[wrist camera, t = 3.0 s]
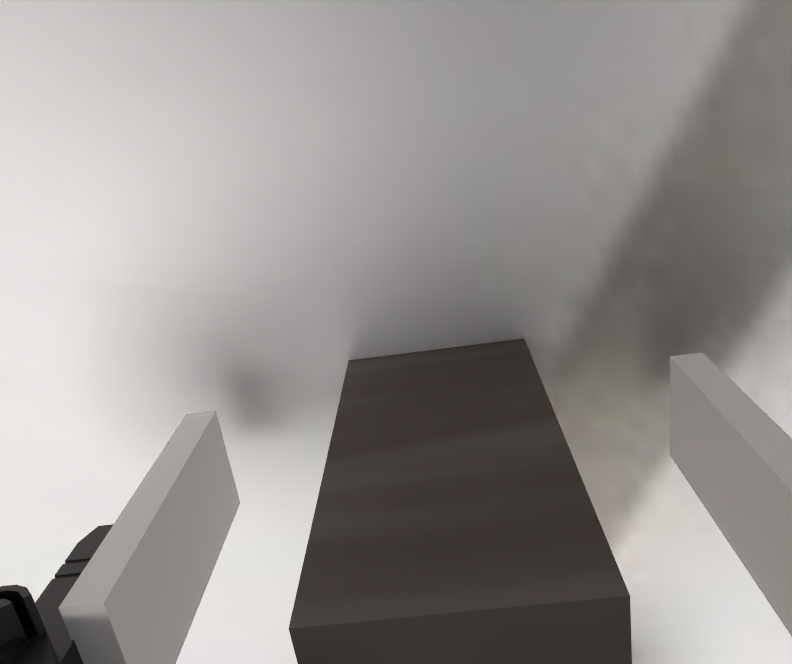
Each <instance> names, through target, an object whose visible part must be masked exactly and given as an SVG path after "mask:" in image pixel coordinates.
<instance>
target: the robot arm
mask: <svg viewBox="0 0 792 664" xmlns="http://www.w3.org/2000/svg"><path fill="white" fill-rule="evenodd" d="M670 456H671V457H672V459H673V460H674V462H675V463H676V465H677V466H678V468H679V469H680V471H681V472H682V473H683V475H684V476H685V478H686V479H687V481H688V482H689V484H690V485H691V487H692V488H693V490H694V491H695V493H696V494H697V496H698V497H699V499H700V500H701V502H702V503H703V505H704V506H705V508H706V509H707V511H708V512H709V514H710V515H711V517H712V518H713V520H714V521H715V523H716V524H717V526H718V527H719V529H720V530H721V532H722V533H723V535H724V536H725V538H726V539H727V541H728V542H729V544H730V545H731V547H732V548H733V550H734V551H735V553H736V554H737V555H738V557H739V558H740V560H741V561H742V563H743V564H744V566H745V567H746V569H747V570H748V572H749V573H750V575H751V576H752V578H753V579H754V581H755V582H756V584H757V585H758V587H759V588H760V590H761V591H762V593H763V594H764V596H765V597H766V599H767V600H768V602H769V603H770V605H771V606H772V608H773V609H774V611H775V612H776V614H777V615H778V617H779V618H780V620H781V621H782V623H783V624H784V626H785V627H786V629H787V630H788V632H789V633H790V635H791V636H792V439H791V438H790V437H789V436H788V435H787V434H786V433H785V432H784V431H783V430H782V429H781V428H780V427H779V426H778V425H777V424H776V423H775V422H774V421H773V420H772V419H771V418H770V417H769V416H768V415H767V414H766V413H765V412H764V411H763V410H762V409H760V408H759V407H758V406H757V405H756V404H755V403H754V402H753V401H752V400H751V399H750V398H749V397H748V396H747V395H746V394H745V393H744V392H743V391H742V390H741V389H740V388H739V387H738V386H737V385H736V384H735V383H734V382H733V381H732V380H731V379H730V378H728V377H727V376H726V375H725V374H724V373H723V372H722V371H721V370H720V369H719V368H718V367H717V366H716V365H715V364H714V363H713V362H712V361H711V360H710V359H709V358H708V357H707V356H706V355H705V354H704V353H703V352H701V353H693V354H685V355H676V356H670ZM239 504H240V500H239V497H238V493H237V489H236V486H235V482H234V478H233V474H232V471H231V467H230V463H229V459H228V456H227V452H226V448H225V445H224V441H223V437H222V433H221V430H220V426H219V422H218V418H217V415H216V411H214V412H206V413H197V414H189V415H186V416H185V417H184V419H183V421H182V422H181V424H180V425H179V427H178V428H177V430H176V431H175V433H174V434H173V436H172V437H171V439H170V440H169V442H168V443H167V445H166V446H165V448H164V449H163V451H162V452H161V454H160V455H159V457H158V458H157V460H156V461H155V463H154V464H153V466H152V467H151V469H150V470H149V472H148V473H147V475H146V476H145V478H144V479H143V481H142V482H141V484H140V485H139V487H138V488H137V490H136V491H135V493H134V495H133V496H132V498H131V499H130V501H129V502H128V504H127V505H126V507H125V508H124V510H123V511H122V513H121V514H120V516H119V517H118V519H117V520H116V522H115V523H114V524H113V525H104V526H98V527H97V528H96V529H94V530H93V531H92V532H91V533H89V534H88V535H87V536H86V537H85V538H83V539H82V540H81V541H80V542H78V544H77V545H76V546H75V548H74V549H73V551H72V552H71V553H70V555H69V556H68V558H67V559H66V560H65V564H63V565H62V566H61V567H60V569H59V570H58V572H57V573H56V574H55V579H52V580H51V582H50V583H49V584H48V586H47V587H46V589H45V590H44V591H43V593H42V594H41V596H40V597H39V598H38V600H37V601H36V603H35V602H34V600H33V598H32V595H31V593H30V592H29V591H28V589H27V588H26V587H23V586H19V585H10V586H1V587H0V664H175V663H176V661H177V658H178V656H179V653H180V651H181V648H182V646H183V643H184V641H185V638H186V636H187V633H188V631H189V628H190V626H191V623H192V621H193V619H194V616H195V614H196V611H197V609H198V606H199V604H200V601H201V599H202V596H203V594H204V591H205V589H206V586H207V584H208V581H209V579H210V576H211V574H212V571H213V569H214V566H215V564H216V561H217V559H218V556H219V554H220V551H221V549H222V546H223V544H224V541H225V539H226V536H227V534H228V531H229V529H230V526H231V524H232V522H233V519H234V517H235V514H236V512H237V509H238V507H239Z"/></svg>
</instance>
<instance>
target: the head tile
mask: <svg viewBox="0 0 792 664" xmlns="http://www.w3.org/2000/svg"><path fill="white" fill-rule="evenodd" d="M289 631H290V635H291V639H292V643H293V647H294V650H295V654H296V658H297V662H298V664H632V654H631V619H630V595H629V593H628V590H627V588H626V585H625V583H624V580H623V578H622V576H621V573H620V571H619V568H618V566H617V563H616V561H615V559H614V556H613V554H612V551H611V549H610V546H609V544H608V542H607V539H606V537H605V534H604V532H603V529H602V527H601V525H600V522H599V520H598V517H597V515H596V513H595V510H594V508H593V505H592V503H591V500H590V498H589V496H588V493H587V491H586V488H585V486H584V483H583V481H582V479H581V476H580V474H579V471H578V469H577V466H576V464H575V462H574V459H573V457H572V454H571V452H570V449H569V447H568V445H567V442H566V440H565V437H564V435H563V432H562V430H561V428H560V425H559V423H558V420H557V418H556V415H555V413H554V411H553V408H552V406H551V403H550V401H549V399H548V396H547V394H546V391H545V389H544V386H543V384H542V382H541V379H540V377H539V374H538V372H537V369H536V367H535V365H534V362H533V360H532V357H531V355H530V352H529V350H528V348H527V345H526V343H525V340H524V339H519V340H511V341H502V342H494V343H486V344H478V345H470V346H462V347H454V348H446V349H438V350H430V351H422V352H414V353H406V354H398V355H390V356H382V357H374V358H366V359H358V360H350V361H349V362H348V366H347V371H346V375H345V379H344V384H343V388H342V393H341V397H340V402H339V406H338V411H337V415H336V420H335V424H334V429H333V433H332V438H331V442H330V447H329V451H328V455H327V460H326V464H325V469H324V473H323V478H322V482H321V487H320V491H319V496H318V500H317V505H316V509H315V514H314V518H313V523H312V527H311V531H310V536H309V540H308V545H307V549H306V554H305V558H304V563H303V567H302V572H301V576H300V581H299V585H298V590H297V594H296V599H295V603H294V607H293V612H292V616H291V621H290V625H289Z"/></svg>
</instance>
